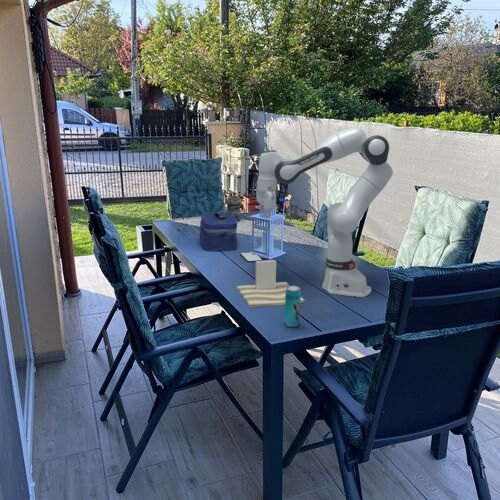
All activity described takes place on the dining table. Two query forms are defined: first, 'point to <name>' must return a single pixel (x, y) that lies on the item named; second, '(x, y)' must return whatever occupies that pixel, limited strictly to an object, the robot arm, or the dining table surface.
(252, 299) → the board
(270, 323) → the dining table surface
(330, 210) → the robot arm
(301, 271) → the dining table surface
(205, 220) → the lunch bag
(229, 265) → the dining table surface
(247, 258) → the phone case
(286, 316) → the beverage can
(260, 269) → the tile
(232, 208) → the apothecary jar
